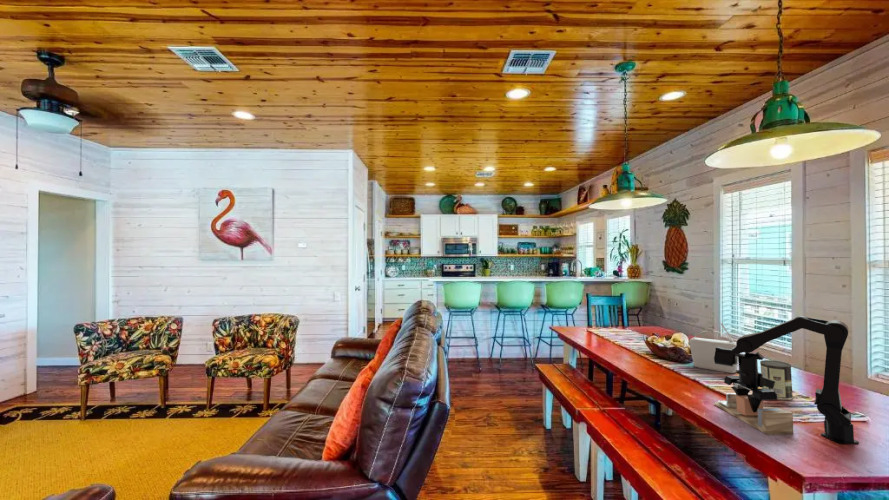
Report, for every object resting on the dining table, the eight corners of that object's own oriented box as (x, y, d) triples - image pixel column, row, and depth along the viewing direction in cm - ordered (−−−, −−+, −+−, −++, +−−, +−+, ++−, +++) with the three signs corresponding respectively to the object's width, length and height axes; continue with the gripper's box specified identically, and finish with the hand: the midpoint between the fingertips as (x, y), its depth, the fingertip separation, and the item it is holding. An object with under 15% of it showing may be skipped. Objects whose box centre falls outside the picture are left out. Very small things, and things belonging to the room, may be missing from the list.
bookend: (745, 407, 148) (745, 393, 148) (728, 407, 148) (727, 394, 148) (734, 401, 154) (734, 388, 154) (717, 402, 154) (717, 388, 154)
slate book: (785, 428, 130) (784, 411, 131) (765, 429, 131) (764, 412, 131) (777, 424, 133) (777, 408, 134) (758, 425, 134) (757, 408, 134)
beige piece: (793, 434, 128) (792, 412, 128) (767, 434, 129) (766, 413, 129) (736, 404, 154) (735, 386, 154) (714, 404, 155) (713, 386, 155)
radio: (742, 371, 195) (740, 323, 195) (739, 375, 189) (737, 326, 189) (693, 363, 211) (691, 319, 211) (689, 366, 205) (687, 321, 205)
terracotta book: (763, 415, 139) (763, 399, 140) (745, 415, 140) (744, 399, 140) (755, 410, 143) (754, 395, 144) (736, 411, 144) (736, 395, 144)
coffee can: (782, 391, 166) (780, 360, 166) (799, 400, 156) (797, 367, 156) (756, 390, 168) (754, 359, 168) (771, 399, 158) (769, 366, 158)
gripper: (791, 376, 132) (794, 420, 132) (750, 361, 151) (751, 399, 151) (760, 377, 132) (762, 420, 132) (722, 362, 151) (724, 400, 151)
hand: (750, 409), depth 141 cm, fingers closed on terracotta book, 4 cm apart
